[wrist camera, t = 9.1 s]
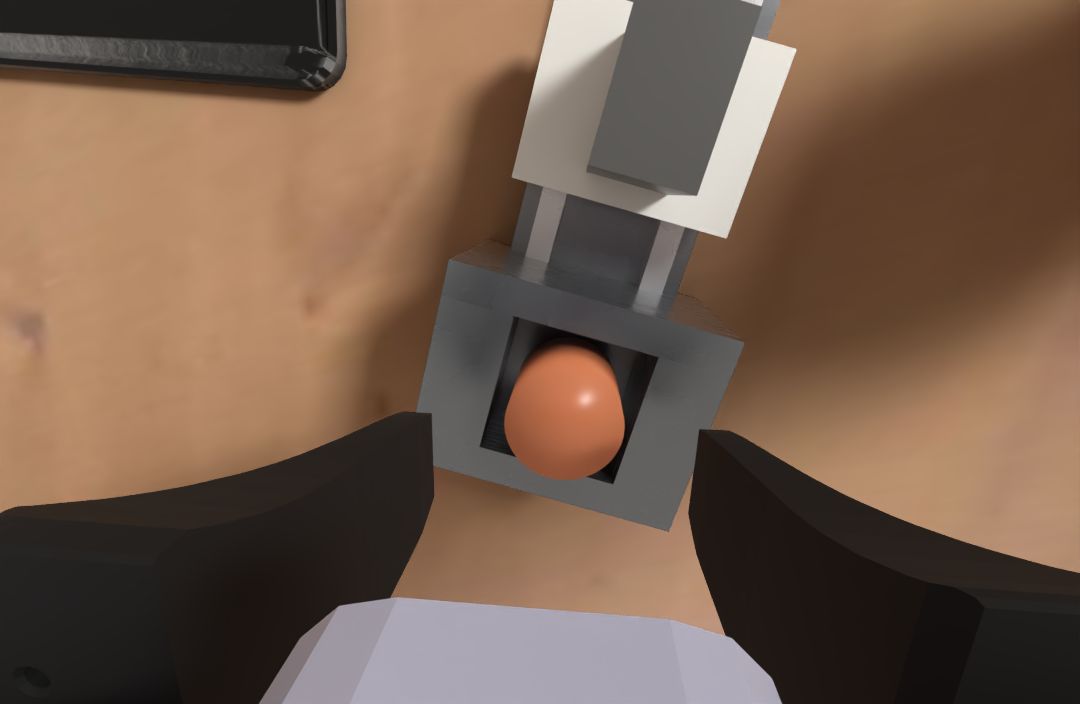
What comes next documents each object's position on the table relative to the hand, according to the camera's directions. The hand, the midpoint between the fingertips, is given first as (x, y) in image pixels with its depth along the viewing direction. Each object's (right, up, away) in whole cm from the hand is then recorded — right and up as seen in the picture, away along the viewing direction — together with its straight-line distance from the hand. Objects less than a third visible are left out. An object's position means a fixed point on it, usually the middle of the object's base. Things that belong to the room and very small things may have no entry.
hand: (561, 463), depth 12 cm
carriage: (+3, +9, +5) cm, 11 cm away
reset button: (0, +1, +5) cm, 5 cm away
